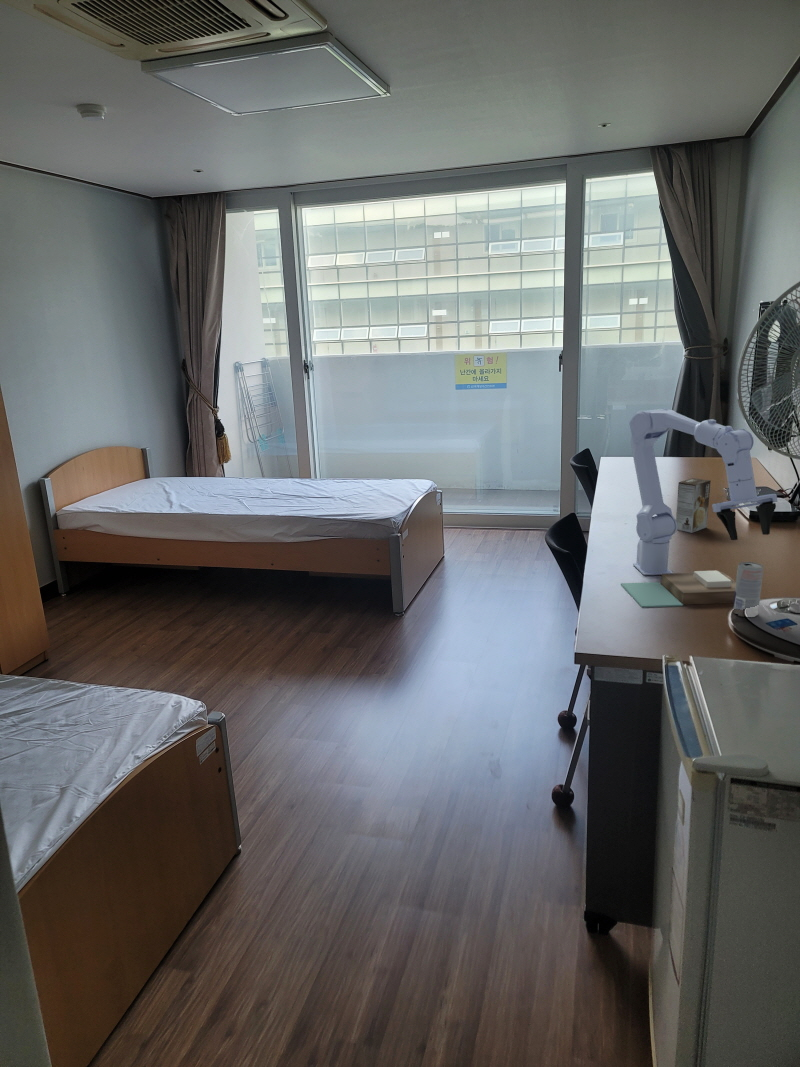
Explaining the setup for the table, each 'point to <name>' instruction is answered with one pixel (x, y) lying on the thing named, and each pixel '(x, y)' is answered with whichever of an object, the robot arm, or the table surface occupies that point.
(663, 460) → the table surface
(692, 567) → the table surface
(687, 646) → the table surface
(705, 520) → the coffee box
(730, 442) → the robot arm
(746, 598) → the energy drink
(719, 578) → the cream tile
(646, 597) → the teal mat
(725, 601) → the block
